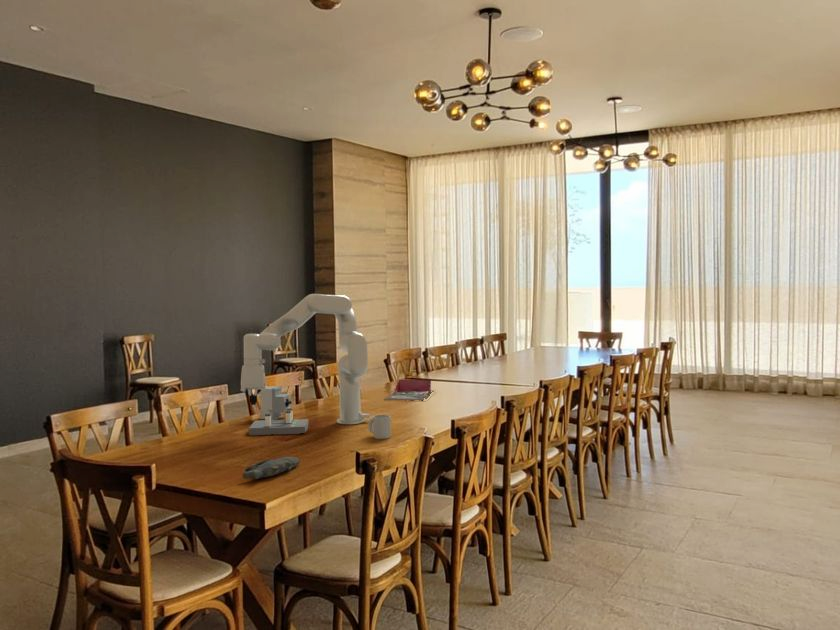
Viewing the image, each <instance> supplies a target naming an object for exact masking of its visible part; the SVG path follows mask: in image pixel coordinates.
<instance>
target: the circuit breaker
mask: <svg viewBox="0 0 840 630" xmlns="http://www.w3.org/2000/svg"><path fill="white" fill-rule="evenodd" d="M265 387H266V390H265V391H261V392H259V393H258V398H260V406H261V407H260V409H259V420H260V419H261V420H262V419H265V414H266V413H271V420H279V419H281V418H282V417H283V414H282V413H285V411H286V410H287V408H291V404H292V401H291V394H290V393H282V386H273V385H270V386H269V385H265ZM260 389H261V388H260ZM276 417H277V418H276ZM280 417H281V418H280Z"/></svg>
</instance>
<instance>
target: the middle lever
mask: <svg viewBox="0 0 840 630" xmlns="http://www.w3.org/2000/svg"><path fill="white" fill-rule="evenodd" d="M284 413H285V420H286V423H291V410H286V411H285V412H284Z"/></svg>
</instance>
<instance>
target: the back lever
mask: <svg viewBox="0 0 840 630" xmlns="http://www.w3.org/2000/svg"><path fill="white" fill-rule="evenodd" d="M293 408H294V407H290V408H287V410H291V420H294V419H293V414H294V413H293V411H294V409H293Z"/></svg>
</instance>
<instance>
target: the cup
mask: <svg viewBox="0 0 840 630" xmlns="http://www.w3.org/2000/svg"><path fill="white" fill-rule="evenodd" d="M391 426H392V425H391V415H389V414H376V415H375V414H374V415H373V416H372V417H370V418H369V421H368V430H369V432H370V433H371V434H372V435H373V438H374V439H375V440H386V439H390V438H391V434H392V431H391V430H392V429H391Z"/></svg>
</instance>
